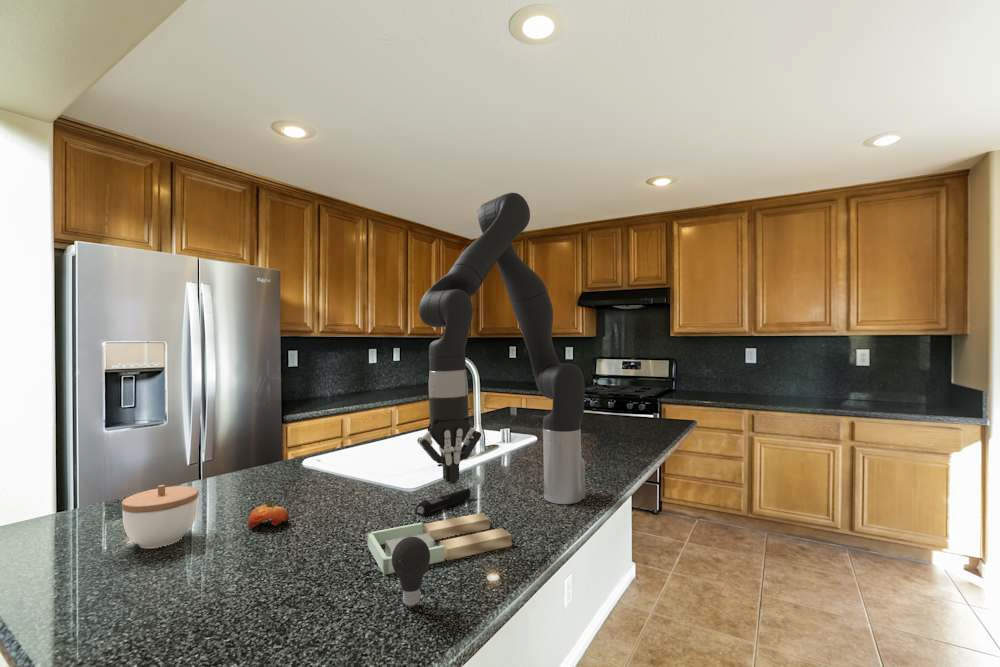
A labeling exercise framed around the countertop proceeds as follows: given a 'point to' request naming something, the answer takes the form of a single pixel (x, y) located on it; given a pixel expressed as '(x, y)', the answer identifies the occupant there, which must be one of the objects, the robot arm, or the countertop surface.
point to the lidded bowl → (160, 515)
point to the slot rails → (469, 542)
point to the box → (393, 533)
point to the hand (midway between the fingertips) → (451, 482)
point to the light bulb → (411, 567)
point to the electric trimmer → (442, 502)
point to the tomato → (268, 515)
